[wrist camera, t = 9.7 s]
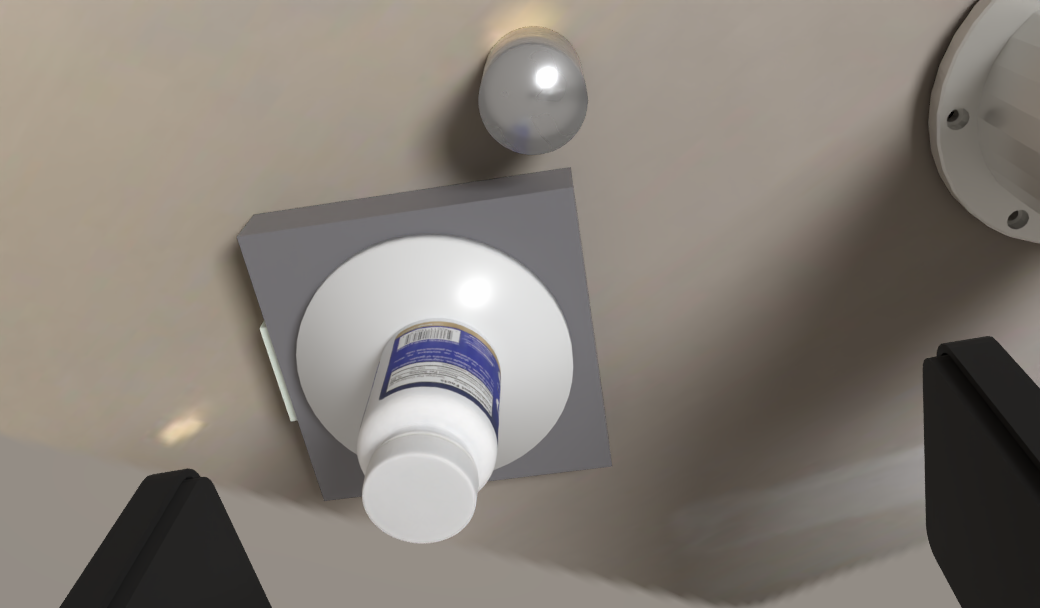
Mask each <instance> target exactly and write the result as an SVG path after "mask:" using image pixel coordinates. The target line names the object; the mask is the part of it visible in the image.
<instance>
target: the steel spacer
mask: <svg viewBox="0 0 1040 608" xmlns="http://www.w3.org/2000/svg"><path fill="white" fill-rule="evenodd" d="M478 104H479V111H480V115H481V118H482V121H483V123H484V125H485V127H486V129H487V131H488V132H489V133H490V135H491V136H492V137H493V138H494V139H495V140H496V141H497V142H498V143H500V144H501V145H502V146H504V147H506V148H507V149H510V150H512V151H514V152H518V153H521V154H527V155H537V154H544V153H549V152H551V151H554V150H556V149H558V148H560V147H562V146H563V145H565V144H566V143H567V142H569V141H570V140H571V139H572V138H573V137H574V136H575V134H576V133H577V132H578V130H579V129H580V127H581V125H582V123H583V121H584V118H585V116H586V111H587V104H588V96H587V89H586V84H585V80H584V75H583V71H582V67H581V62H580V59H579V57H578V55H577V52H576V51H575V49H574V48H573V46H572V45H571V44H570V42H569V41H568V40H567V39H565V38H564V37H563V36H562V35H560V34H559V33H557V32H555V31H553V30H551V29H548V28H544V27H537V26H530V27H523V28H519V29H516V30H513V31H511V32H510V33H508V34H506V35H505V36H503V37H502V38H501V39H500V40H499V41H498V42H497V43H496V44H495V45H494V47H493V48H492V50H491V51H490V53H489V55H488V57H487V60H486V64H485V67H484V72H483V76H482V81H481V85H480V90H479V102H478Z"/></svg>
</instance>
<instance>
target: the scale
mask: <svg viewBox="0 0 1040 608" xmlns="http://www.w3.org/2000/svg"><path fill="white" fill-rule="evenodd" d="M237 239H238V242H239V245H240V248H241V251H242V254H243V257H244V260H245V263H246V266H247V269H248V272H249V275H250V278H251V281H252V285H253V288H254V291H255V294H256V297H257V300H258V303H259V306H260V309H261V312H262V315H263V318H264V321H263V323H262V325H261V326H260V331H261V334H262V337H263V340H264V343H265V346H266V349H267V352H268V355H269V358H270V361H271V364H272V367H273V370H274V373H275V376H276V379H277V382H278V385H279V388H280V391H281V394H282V397H283V400H284V403H285V406H286V409H287V412H288V415H289V418H290V421H297V420H298V423H299V426H300V429H301V432H302V435H303V438H304V441H305V444H306V447H307V450H308V453H309V456H310V459H311V463H312V466H313V469H314V472H315V475H316V478H317V481H318V484H319V487H320V490H321V493H322V496H323V499H324V501H328V500H336V499H345V498H353V497H361V496H362V488H363V483H364V478H365V475H364V473H363V471H362V469H361V466H360V464H359V460H358V456H357V439H358V434H359V430H360V426H361V422H362V419H363V415H364V412H365V409H366V405H367V402H368V399H369V396H370V392H371V389H372V385H373V382H374V378H375V374H376V371H377V368H378V364H379V361H380V358H381V355H382V353H383V350H384V348H385V346H386V345H387V343H388V342H389V340H390V339H391V338H392V337H393V336H394V335H395V334H396V333H397V332H399V331H400V330H401V329H403V328H404V327H406V326H408V325H409V324H412V323H414V322H417V321H420V320H424V319H430V318H446V319H453V320H457V321H460V322H463V323H465V324H468V325H470V326H472V327H473V328H475V329H476V330H478V331H479V332H480V333H482V334H483V335H484V336H485V337H486V338H487V339H488V340H489V342H490V343H491V344H492V346H493V347H494V349H495V351H496V353H497V355H498V358H499V361H500V366H501V391H500V411H499V430H498V449H497V458H496V463H495V467H494V470H493V472H492V474H491V476H490V478H489V480H488V481H494V480H502V479H511V478H519V477H527V476H536V475H544V474H552V473H561V472H569V471H577V470H586V469H594V468H602V467H611V466H612V461H611V454H610V446H609V438H608V431H607V423H606V416H605V409H604V402H603V395H602V388H601V381H600V374H599V366H598V359H597V352H596V345H595V338H594V331H593V324H592V316H591V309H590V302H589V295H588V288H587V281H586V274H585V266H584V259H583V252H582V245H581V238H580V231H579V224H578V217H577V209H576V202H575V195H574V188H573V181H572V174H571V167H570V168H563V169H556V170H549V171H543V172H536V173H529V174H523V175H516V176H509V177H503V178H496V179H489V180H483V181H476V182H469V183H463V184H456V185H449V186H442V187H436V188H429V189H422V190H416V191H409V192H402V193H396V194H389V195H382V196H376V197H369V198H362V199H355V200H349V201H342V202H335V203H329V204H322V205H315V206H309V207H302V208H295V209H289V210H282V211H275V212H269V213H262V214H255V215H253V216H252V218H251V219H250V220H249V222H248V223H247V224H246V225H245V227H244V228H243V229H242V231H241V232H240V233H239V235H238V236H237Z"/></svg>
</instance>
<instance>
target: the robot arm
mask: <svg viewBox="0 0 1040 608" xmlns="http://www.w3.org/2000/svg"><path fill="white" fill-rule="evenodd" d="M953 110H954V114H953V116H952V117H951V118H949V119H947V117H948V115H949V114H950V113H951V112H952V111H953ZM928 127H929V136H930V146H931V152H932V155H933V158H934V161H935V164H936V167H937V170H938V173H939V175H940V177H941V179H942V180H943V182H944V183H945V185H946V187H947V188H948V190H949V191H950V193H951V195H952V196H953V197H954V198H955V199H956V200H957V201H958V202H959V203H960V204H961V205H962V206H963V207H964V208H965V209H966V210H967V211H968V212H969V213H971V214H972V215H973V216H975V217H976V218H977V219H979V220H980V221H982V222H983V223H984V224H986V225H987V226H988V227H990V228H992V229H994V230H996V231H998V232H1000V233H1002V234H1004V235H1007V236H1009V237H1012V238H1017V239H1021V240H1026V241H1030V242H1035V243H1040V0H980V1H979V2H978V3H977V4H976V5H975V6H974V7H973V9H972V10H971V12H970V13H969V14H968V16H967V17H966V19H965V20H964V22H963V23H962V24H961V26H960V27H959V29H958V30H957V31H956V33H955V34H954V36H953V38H952V40H951V42H950V45H949V47H948V49H947V51H946V53H945V55H944V57H943V59H942V61H941V63H940V65H939V69H938V72H937V76H936V79H935V83H934V86H933V89H932V93H931V100H930V110H929V120H928ZM923 407H924V453H925V499H926V529H927V535H928V540H929V544H930V547H931V550H932V552H933V554H934V556H935V559H936V560H937V562H938V564H939V566H940V568H941V570H942V572H943V574H944V575H945V577H946V579H947V581H948V583H949V585H950V587H951V589H952V590H953V592H954V594H955V596H956V598H957V599H958V602H959V603H960V605H961V607H962V608H1040V388H1039V387H1038V386H1037V385H1036V384H1035V383H1034V382H1033V380H1032V379H1031V378H1030V377H1029V376H1028V375H1027V374H1026V373H1025V372H1024V370H1023V369H1022V368H1021V367H1020V366H1019V365H1018V364H1017V363H1016V362H1015V361H1014V359H1013V358H1012V357H1011V356H1010V355H1009V354H1008V353H1007V352H1006V351H1005V349H1004V348H1003V347H1002V346H1001V345H1000V344H999V343H998V342H997V341H996V340H995V339H994V338H993V337H990V336H986V337H979V338H973V339H967V340H961V341H955V342H949V343H943V344H941V345H940V346H939V347H938V350H937V357H931V358H926V359H925V360H924V363H923ZM60 608H272V607H271V605H270V603H269V601H268V599H267V597H266V594H265V592H264V590H263V588H262V586H261V584H260V582H259V580H258V577H257V575H256V573H255V571H254V569H253V567H252V565H251V563H250V561H249V558H248V556H247V554H246V552H245V550H244V548H243V546H242V544H241V541H240V540H239V537H238V535H237V533H236V531H235V529H234V527H233V525H232V523H231V520H230V518H229V516H228V514H227V512H226V510H225V508H224V505H223V503H222V501H221V499H220V497H219V495H218V493H217V491H216V489H215V486H214V485H213V483H212V481H211V480H210V479H209V478H207V477H200V476H199V474H198V473H197V472H196V471H194V470H193V469H183V470H177V471H171V472H165V473H159V474H153V475H150V476H147V477H146V478H145V479H144V480H143V481H142V483H141V484H140V486H139V487H138V489H137V490H136V492H135V494H134V495H133V497H132V498H131V500H130V501H129V503H128V504H127V506H126V507H125V509H124V510H123V512H122V513H121V515H120V516H119V518H118V519H117V521H116V522H115V524H114V525H113V527H112V529H111V530H110V532H109V533H108V535H107V536H106V538H105V539H104V541H103V542H102V544H101V545H100V547H99V548H98V550H97V551H96V553H95V554H94V556H93V557H92V559H91V561H90V562H89V563H88V565H87V566H86V568H85V570H84V571H83V573H82V574H81V576H80V577H79V579H78V580H77V582H76V583H75V585H74V586H73V588H72V589H71V591H70V592H69V594H68V595H67V597H66V598H65V600H64V602H63V603H62V604H61V606H60Z"/></svg>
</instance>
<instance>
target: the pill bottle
mask: <svg viewBox="0 0 1040 608" xmlns="http://www.w3.org/2000/svg"><path fill="white" fill-rule="evenodd" d="M500 391H501V366H500V361H499V358H498V355H497V353H496V351H495V349H494V347H493V346H492V344H491V343H490V342H489V340H488V339H487V338H486V337H485V336H484V335H483V334H482V333H480V332H479V331H478V330H476V329H475V328H473V327H472V326H470V325H468V324H465V323H463V322H460V321H457V320H453V319H446V318H430V319H424V320H420V321H417V322H414V323H412V324H409V325H408V326H406V327H404V328H403V329H401V330H400V331H399V332H397V333H396V334H395V335H394V336H393V337H392V338H391V339H390V340H389V342H388V343H387V345H386V346H385V348H384V350H383V353H382V355H381V358H380V361H379V364H378V368H377V371H376V374H375V378H374V382H373V385H372V389H371V392H370V396H369V399H368V402H367V405H366V409H365V412H364V415H363V419H362V422H361V426H360V430H359V434H358V439H357V456H358V460H359V464H360V466H361V469H362V471H363V473H364V475H365V478H364V483H363V488H362V501H363V506H364V508H365V511H366V513H367V515H368V516H369V518H370V520H371V521H372V522H373V523H374V524H375V525H376V526H377V527H378V528H379V529H380V530H382V531H383V532H385V533H386V534H388V535H390V536H391V537H394V538H396V539H399V540H402V541H406V542H411V543H434V542H439V541H442V540H445V539H448V538H450V537H452V536H454V535H456V534H457V533H459V532H460V531H461V530H462V529H463V528H464V527H465V526H466V525H467V524H468V523H469V521H470V520H471V518H472V516H473V514H474V511H475V508H476V501H477V494H478V492H479V491H480V490H481V489H482V488H483V486H484V485H485V484H486V483H487V481H488V480H489V478H490V476H491V474H492V472H493V470H494V467H495V463H496V458H497V449H498V430H499V411H500Z"/></svg>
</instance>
